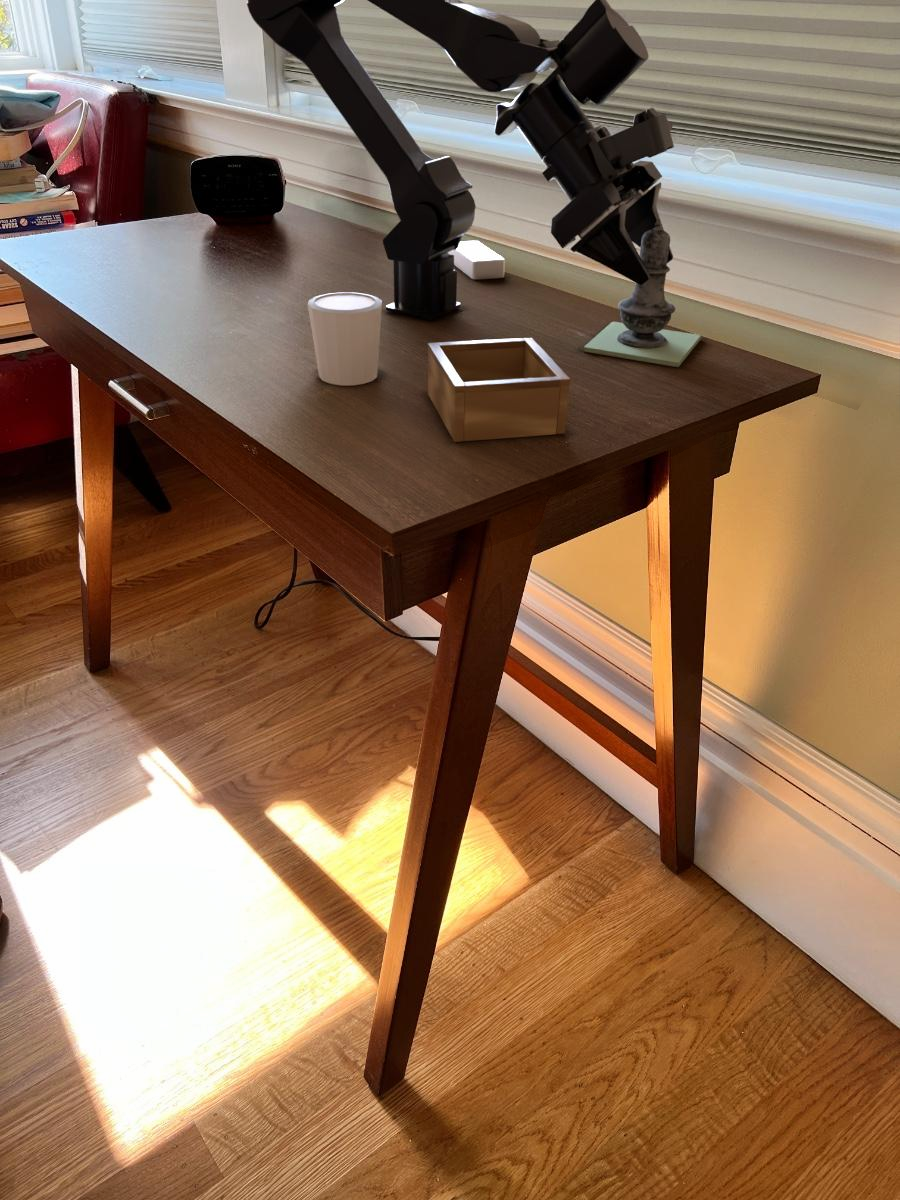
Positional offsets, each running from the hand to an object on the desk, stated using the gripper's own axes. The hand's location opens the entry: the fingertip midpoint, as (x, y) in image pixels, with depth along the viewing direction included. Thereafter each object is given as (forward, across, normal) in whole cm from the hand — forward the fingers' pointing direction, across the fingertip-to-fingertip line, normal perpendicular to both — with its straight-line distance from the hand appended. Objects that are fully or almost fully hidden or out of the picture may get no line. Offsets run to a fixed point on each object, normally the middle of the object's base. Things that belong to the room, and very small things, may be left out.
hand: (658, 271), depth 91 cm
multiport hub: (-15, +20, +26) cm, 37 cm away
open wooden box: (0, -25, +10) cm, 27 cm away
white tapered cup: (-11, -23, +22) cm, 33 cm away
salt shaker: (+5, 0, +6) cm, 7 cm away
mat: (+5, 0, +6) cm, 8 cm away
